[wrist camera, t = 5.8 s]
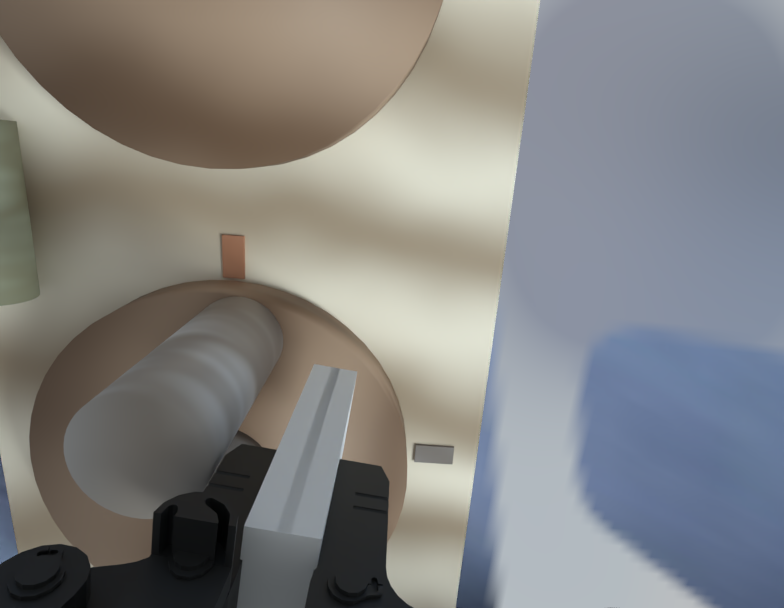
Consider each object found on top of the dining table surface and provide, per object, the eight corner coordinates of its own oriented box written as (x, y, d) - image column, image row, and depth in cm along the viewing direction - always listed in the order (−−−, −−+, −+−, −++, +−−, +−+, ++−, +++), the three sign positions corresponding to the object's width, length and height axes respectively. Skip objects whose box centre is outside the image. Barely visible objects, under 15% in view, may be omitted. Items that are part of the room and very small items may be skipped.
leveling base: (449, 586, 25) (460, 672, 21) (54, 562, 25) (-16, 645, 21) (573, -358, 15) (645, -561, 11) (-98, -420, 15) (-299, -657, 10)
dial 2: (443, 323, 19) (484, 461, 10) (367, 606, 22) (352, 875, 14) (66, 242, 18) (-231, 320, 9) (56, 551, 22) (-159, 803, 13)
